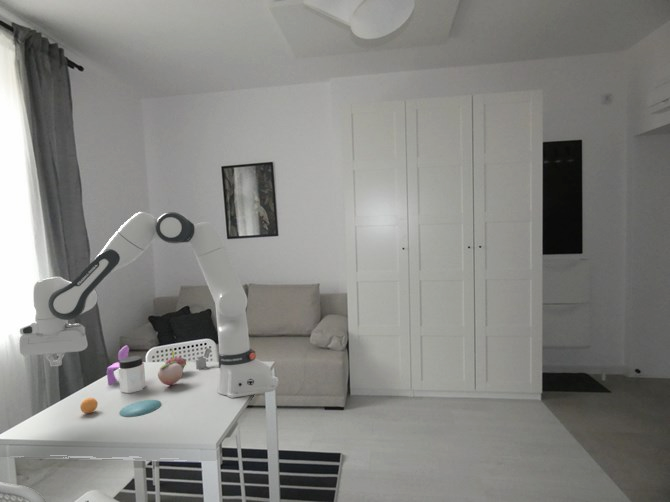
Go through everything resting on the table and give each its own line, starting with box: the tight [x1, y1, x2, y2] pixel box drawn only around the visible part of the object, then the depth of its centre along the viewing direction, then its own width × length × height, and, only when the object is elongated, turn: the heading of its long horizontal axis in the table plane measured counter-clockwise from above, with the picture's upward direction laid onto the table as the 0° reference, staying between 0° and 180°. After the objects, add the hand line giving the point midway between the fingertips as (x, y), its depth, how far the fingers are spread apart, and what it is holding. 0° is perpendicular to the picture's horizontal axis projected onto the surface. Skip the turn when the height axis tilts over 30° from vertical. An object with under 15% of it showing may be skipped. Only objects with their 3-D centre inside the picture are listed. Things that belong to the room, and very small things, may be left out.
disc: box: [118, 399, 162, 418], centre depth 138 cm, size 13×13×1 cm
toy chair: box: [106, 345, 130, 386], centre depth 166 cm, size 8×9×15 cm
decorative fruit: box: [157, 361, 184, 387], centre depth 158 cm, size 9×8×10 cm
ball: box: [79, 397, 99, 414], centre depth 137 cm, size 5×5×5 cm
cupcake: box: [164, 348, 187, 370], centre depth 172 cm, size 9×8×12 cm
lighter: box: [195, 347, 212, 370], centre depth 179 cm, size 7×2×8 cm, turn 143°
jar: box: [117, 355, 147, 394], centre depth 157 cm, size 9×8×12 cm
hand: (56, 365), depth 136 cm, fingers closed
